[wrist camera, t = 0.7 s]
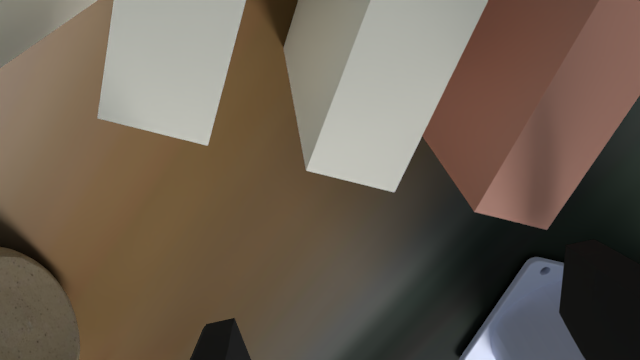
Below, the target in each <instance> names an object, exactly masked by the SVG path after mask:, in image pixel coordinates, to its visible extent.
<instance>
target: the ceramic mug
mask: <svg viewBox="0 0 640 360" xmlns="http://www.w3.org/2000/svg"><path fill="white" fill-rule="evenodd" d="M79 354H80V340H79V330H78V325H77V320H76V316H75V313H74V310H73V308H72V305H71V302H70V300H69V298H68V296H67V294H66V293H65V291H64V290H63V288H62V287H61V285H60V284H59V283H58V281H57V280H56V279H55V278H54V276H53V275H52V274H51V273H50V272H49V271H48V270H47V269H46V268H44V267H43V266H42V265H41V264H39V263H38V262H37V261H35V260H34V259H32V258H30V257H28V256H26V255H24V254H22V253H20V252H17V251H15V250H12V249H8V248H4V247H0V360H79Z"/></svg>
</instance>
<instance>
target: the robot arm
mask: <svg viewBox="0 0 640 360" xmlns="http://www.w3.org/2000/svg"><path fill="white" fill-rule="evenodd" d="M543 268H544V269H543ZM541 269H542V270H541ZM190 360H251V359H250V356H249V354H248V351H247V349H246V346H245V344H244V341H243V339H242V336H241V333H240V331H239V328H238V326H237V323H236V321H235V318H233V319H228V320H224V321H219V322H214V323H210V324H206V326H205V327H204V328H203V330H202V333H201V335H200V337H199V340H198V342H197V344H196V347H195V349H194V351H193V354H192V356H191V358H190ZM459 360H640V264H638V263H636V262H635V261H633V260H631V259H629V258H627V257H626V256H624V255H622V254H620V253H619V252H617V251H615V250H613V249H611V248H610V247H608V246H606V245H604V244H602V243H600V242H598V241H597V240H595V239H592V240H588V241H583V242H579V243H574V244H570V245H566V249H565V258H564V263H563V262H558V261H554V260H549V259H545V258H541V257H533V258H530V259H528V260H527V261H526V262H525V264H524V265H523V267H522V268H521V270H520V271H519V272H518V274H517V275H516V277H515V278H514V280H513V281H512V283H511V284H510V285H509V287H508V288H507V290H506V291H505V293H504V294H503V296H502V297H501V298H500V300H499V301H498V303H497V304H496V306H495V307H494V309H493V310H492V312H491V313H490V314H489V316H488V317H487V319H486V320H485V322H484V323H483V325H482V326H481V327H480V329H479V330H478V332H477V333H476V335H475V336H474V338H473V339H472V340H471V342H470V343H469V345H468V346H467V348H466V349H465V351H464V352H463V354H462V355H461V356H460V358H459Z"/></svg>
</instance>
